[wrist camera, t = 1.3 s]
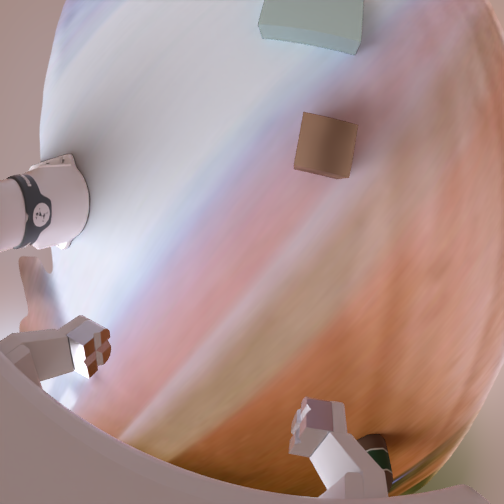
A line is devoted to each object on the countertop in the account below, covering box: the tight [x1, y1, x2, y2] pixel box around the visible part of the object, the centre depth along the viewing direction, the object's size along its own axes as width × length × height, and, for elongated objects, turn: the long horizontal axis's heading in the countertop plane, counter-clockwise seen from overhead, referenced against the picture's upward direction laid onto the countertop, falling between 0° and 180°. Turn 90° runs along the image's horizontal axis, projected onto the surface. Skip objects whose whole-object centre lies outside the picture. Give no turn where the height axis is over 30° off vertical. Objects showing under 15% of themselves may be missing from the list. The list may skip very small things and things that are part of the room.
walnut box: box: [294, 112, 358, 179], centre depth 31 cm, size 6×6×9 cm
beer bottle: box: [357, 434, 393, 492], centre depth 35 cm, size 8×8×24 cm
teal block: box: [258, 0, 364, 55], centre depth 27 cm, size 14×14×5 cm
